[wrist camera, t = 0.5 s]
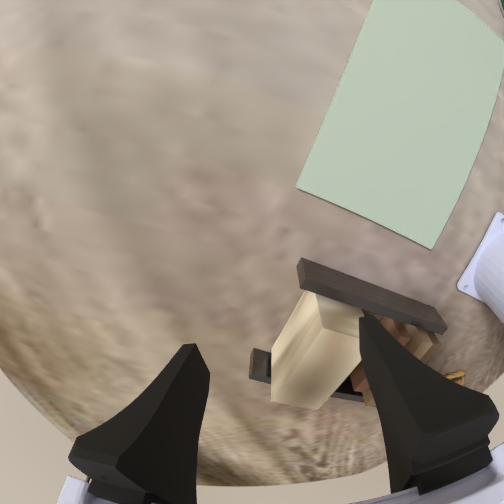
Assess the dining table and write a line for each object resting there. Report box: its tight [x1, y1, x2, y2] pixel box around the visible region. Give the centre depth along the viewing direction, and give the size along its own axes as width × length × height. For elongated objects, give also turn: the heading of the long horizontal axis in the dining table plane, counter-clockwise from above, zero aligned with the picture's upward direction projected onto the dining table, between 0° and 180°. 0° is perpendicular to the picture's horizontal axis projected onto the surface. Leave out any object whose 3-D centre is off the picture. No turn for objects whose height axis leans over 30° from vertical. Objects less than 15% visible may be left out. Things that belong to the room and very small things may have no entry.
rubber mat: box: [296, 0, 504, 250], centre depth 16 cm, size 12×20×1 cm, turn 160°
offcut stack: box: [350, 316, 441, 407], centre depth 23 cm, size 4×8×4 cm, turn 160°
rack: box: [249, 258, 448, 402], centre depth 23 cm, size 14×11×3 cm
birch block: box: [271, 290, 364, 410], centre depth 22 cm, size 4×8×6 cm, turn 160°
